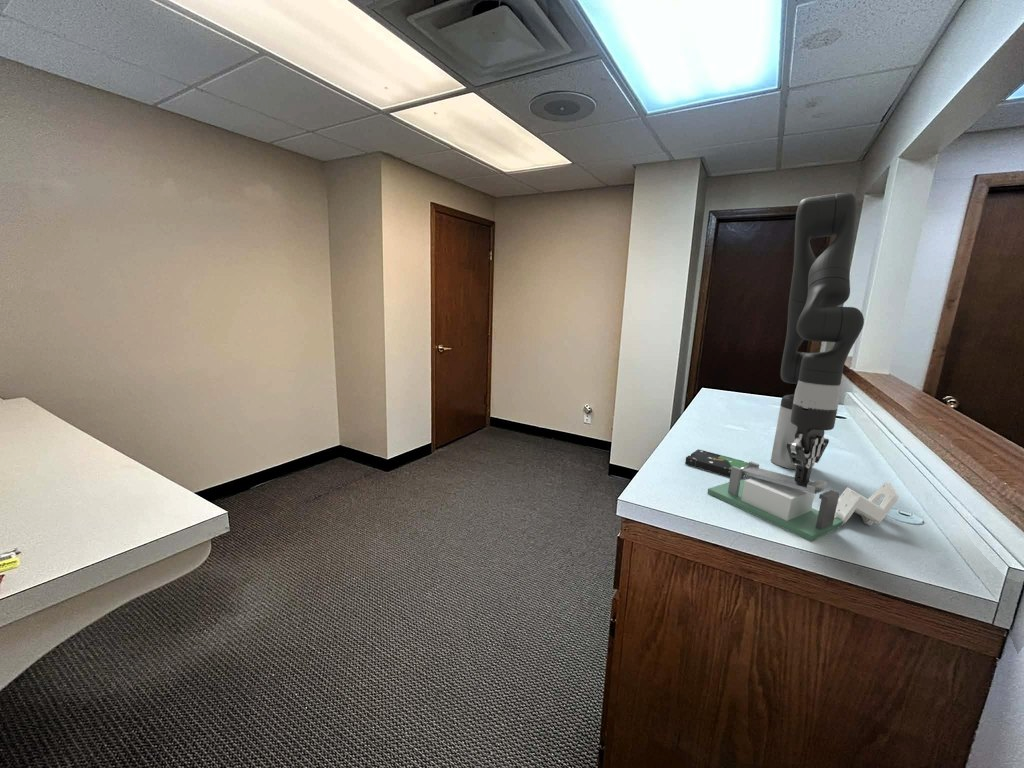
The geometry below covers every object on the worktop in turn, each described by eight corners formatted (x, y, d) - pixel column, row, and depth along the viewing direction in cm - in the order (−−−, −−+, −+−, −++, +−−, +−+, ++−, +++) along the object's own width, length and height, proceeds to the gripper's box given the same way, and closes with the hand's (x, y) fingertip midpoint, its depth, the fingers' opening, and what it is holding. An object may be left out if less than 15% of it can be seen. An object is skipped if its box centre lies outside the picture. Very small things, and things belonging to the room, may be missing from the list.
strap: (748, 469, 101) (749, 462, 101) (827, 489, 87) (827, 481, 87) (735, 473, 99) (736, 465, 98) (814, 494, 84) (814, 486, 84)
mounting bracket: (864, 540, 87) (903, 504, 82) (833, 520, 89) (869, 484, 85) (856, 517, 97) (890, 483, 92) (827, 499, 99) (860, 466, 95)
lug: (824, 521, 88) (831, 489, 86) (832, 524, 86) (839, 492, 85) (812, 526, 85) (819, 494, 84) (820, 530, 84) (827, 497, 82)
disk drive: (684, 466, 119) (740, 482, 110) (685, 457, 119) (742, 472, 109) (696, 457, 127) (750, 471, 117) (697, 448, 126) (751, 461, 117)
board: (738, 483, 108) (743, 455, 106) (842, 525, 88) (849, 492, 87) (707, 493, 101) (711, 463, 100) (811, 541, 82) (819, 505, 80)
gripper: (810, 398, 92) (798, 471, 95) (778, 402, 86) (766, 481, 89) (851, 405, 86) (836, 483, 89) (819, 410, 79) (804, 495, 82)
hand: (801, 482), depth 89 cm, fingers closed
